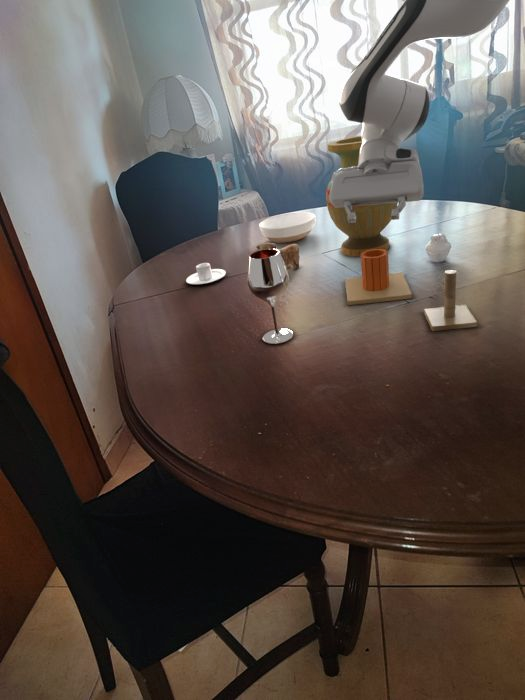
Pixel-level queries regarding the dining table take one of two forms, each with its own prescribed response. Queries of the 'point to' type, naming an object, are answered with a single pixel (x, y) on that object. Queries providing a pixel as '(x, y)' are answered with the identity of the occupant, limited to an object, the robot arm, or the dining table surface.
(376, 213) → the vase
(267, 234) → the bowl
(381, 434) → the dining table surface
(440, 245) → the muffin
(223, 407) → the dining table surface
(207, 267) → the candle holder
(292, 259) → the figurine
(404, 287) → the cork mat
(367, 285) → the orange ring
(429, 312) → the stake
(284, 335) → the wineglass
